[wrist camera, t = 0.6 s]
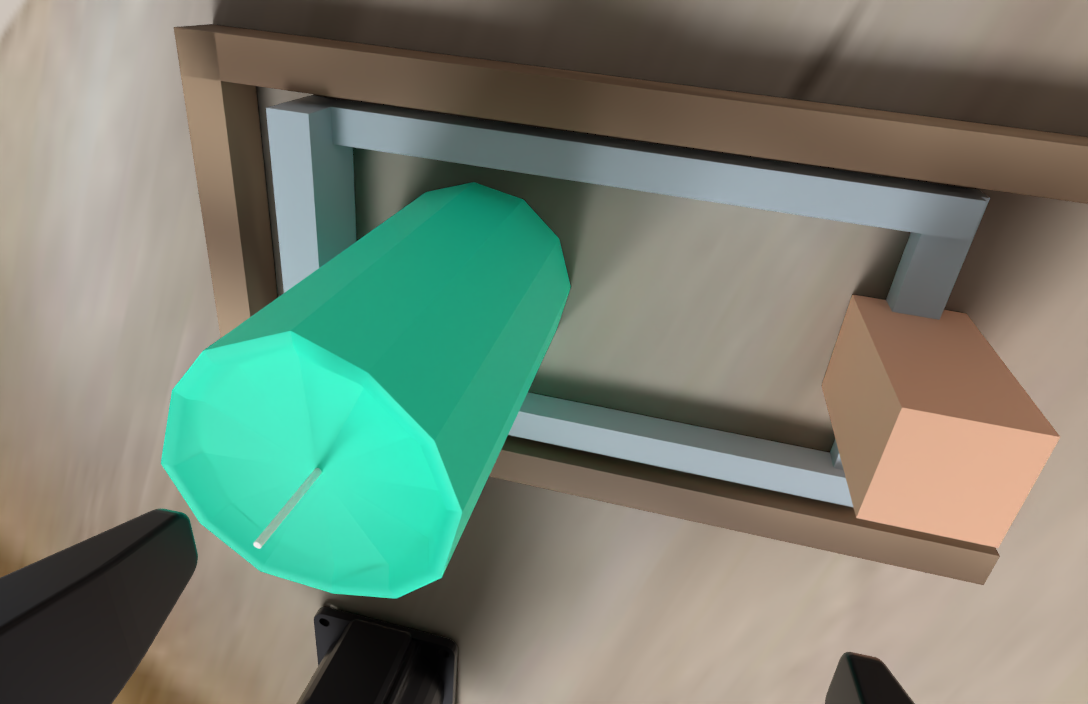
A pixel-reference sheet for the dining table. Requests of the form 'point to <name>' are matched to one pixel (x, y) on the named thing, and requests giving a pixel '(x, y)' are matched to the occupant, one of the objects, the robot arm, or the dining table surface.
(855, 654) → the robot arm
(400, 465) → the candle
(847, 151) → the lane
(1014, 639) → the dining table surface
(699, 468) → the frame
